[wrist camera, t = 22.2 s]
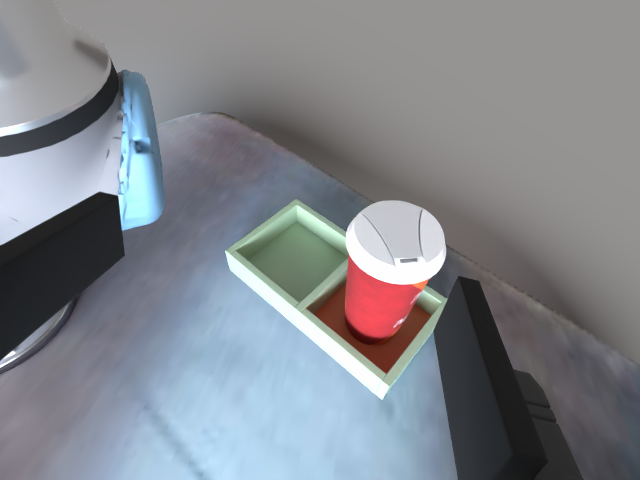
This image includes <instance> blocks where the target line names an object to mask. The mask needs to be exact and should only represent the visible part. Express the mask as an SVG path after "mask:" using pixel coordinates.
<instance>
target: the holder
mask: <svg viewBox="0 0 640 480" xmlns="http://www.w3.org/2000/svg"><path fill="white" fill-rule="evenodd" d="M225 252H226V256H227V260H228V264H229V268H230V270H231V271H232V272H233V273H234V274H236V275H237V276H238V277H239V278H240V279H241V280H243V281H244V282H245V283H246V284H247V285H248V286H250V287H251V288H252V289H253V290H254V291H255V292H257V293H258V294H259V295H260V296H261V297H262V298H264V299H265V300H266V301H267V302H268V303H269V304H271V305H272V306H273V307H274V308H275V309H276V310H278V311H279V312H280V313H281V314H282V315H283V316H285V317H286V318H287V319H288V320H289V321H290V322H292V323H293V324H294V325H295V326H296V327H297V328H299V329H300V330H301V331H302V332H303V333H304V334H306V335H307V336H308V337H309V338H310V339H311V340H313V341H314V342H315V343H316V344H317V345H318V346H320V347H321V348H322V349H323V350H324V351H325V352H327V353H328V354H329V355H330V356H331V357H332V358H334V359H335V360H336V361H337V362H338V363H339V364H341V365H342V366H343V367H344V368H345V369H346V370H348V371H349V372H350V373H351V374H352V375H353V376H355V377H356V378H357V379H358V380H359V381H360V382H362V383H363V384H364V385H365V386H366V387H367V388H369V389H370V390H371V391H372V392H373V393H374V394H376V395H377V396H378V397H379V398H380V399H381V400H383V398H384V397H385V396H386V394H387V393H388V392H389V390H390V389H391V388H392V386H393V385H394V384H395V382H396V381H397V380H398V378H399V377H400V375H401V374H402V373H403V371H404V370H405V369H406V367H407V366H408V365H409V363H410V362H411V361H412V359H413V358H414V357H415V355H416V354H417V353H418V351H419V350H420V349H421V347H422V346H423V345H424V343H425V342H426V341H427V339H428V338H429V336H430V335H431V334H432V332H433V330H434V328H435V326H436V324H437V321H438V319H439V317H440V315H441V313H442V310H443V308H444V306H445V304H446V302H447V300H448V299H447V298H445V297H443V296H442V295H440V294H439V293H437V292H436V291H434V290H433V289H431V288H430V287H428V286H427V285H425V287H424V289H423V290H422V292H421V294H420V296H419V297H418V299H417V301H416V302H415V304H414V306H413V307H412V309H411V311H410V312H409V314H408V316H407V317H406V319H405V321H404V322H403V324H402V325H401V327H400V329H399V330H398V332H397V333H396V334H395V336H394V337H393V338H392V339H391V340H390V341H388V342H386V343H384V344H381V345H367V344H364V343H362V342H360V341H358V340H356V339H355V338H354V337H353V336H352V335H351V334H350V333H349V331H348V329H347V327H346V324H345V296H346V281H347V267H348V253H349V252H348V250H347V247H346V231H344V230H343V229H341V228H340V227H338V226H337V225H335V224H334V223H332V222H331V221H329V220H328V219H326V218H325V217H323V216H322V215H320V214H319V213H317V212H316V211H314V210H313V209H311V208H310V207H308V206H307V205H305V204H304V203H302V202H301V201H299V200H298V199H295V200H294V201H292V202H291V203H290V204H288V205H287V206H286V207H284V208H283V209H281V210H280V211H279V212H277V213H276V214H275V215H273V216H272V217H270V218H269V219H268V220H266V221H265V222H264V223H262V224H261V225H259V226H258V227H257V228H255V229H254V230H253V231H251V232H250V233H248V234H247V235H246V236H244V237H243V238H242V239H240V240H239V241H238V242H236V243H235V244H233V245H232V246H231V247H229V248H228V249H227V250H225Z"/></svg>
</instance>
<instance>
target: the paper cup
mask: <svg viewBox="0 0 640 480" xmlns="http://www.w3.org/2000/svg"><path fill="white" fill-rule="evenodd" d="M422 209H423V208H421V207H419V206H416V205H414V204H411V203H408V202H404V201H398V200H387V201H380V202H376V203H373V204H371V205H369V206H368V207H366V208H365V209H363V210H362V211H361V212H360V213H358V215H357V216H356V217H355V218H354V219H353V220H352V222H351V223H350V225H349V226H348V229H347V232H346V247H347V250H348V252H349V253H348V267H347V281H346V296H345V324H346V327H347V329H348V331H349V333H350V334H351V335H352V336H353V337H354V338H355V339H356V340H358V341H360V342H362V343H364V344H367V345H381V344H384V343H386V342H388V341H390V340H391V339H392V338H393V337H394V336H395V334H396V333H397V332H398V330H399V329H400V327H401V325H402V324H403V322H404V321H405V319H406V317H407V316H408V314H409V312H410V311H411V309H412V307H413V306H414V304H415V302H416V301H417V299H418V297H419V296H420V294H421V292H422V290H423V289H424V287H425V285H426V284H427V282H428V280H429V279H430V278H431V277H432V276H433V275H435V274H436V273H437V272H438V271H439V270H440V268H441V267H442V265H443V263H444V261H445V257H446V245H445V239H444V233H443V230H442V228H441V226H440V224H439V222H438V221H437V220H436V218H435V217H434V216H433V215H431V214H430V213H429V212H428V211H426V210H425V209H423V210H422Z"/></svg>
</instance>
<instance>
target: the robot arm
mask: <svg viewBox="0 0 640 480" xmlns="http://www.w3.org/2000/svg"><path fill="white" fill-rule="evenodd" d="M164 207H165V191H164V180H163V171H162V163H161V155H160V148H159V141H158V135H157V129H156V123H155V117H154V112H153V106H152V101H151V97H150V93H149V89H148V86H147V84H146V80H145V78H144V77H143V75H142V74H140V73H137V72H130V71H128V70H122V71H121V72H119V73H117V72H116V70H115V68H114V65H113V63H112V61H111V58H110V56H109V54H108V51H107V50H106V48H105V46H104V44H103V43H102V42H101V41H100V40H99V39H98V38H97V37H96V36H94V35H93V34H91V33H90V32H88V31H85V30H83V29H82V28H80V27H78V26H76V25H73V24H72V23H70V22H68V21H66V20H65V19H64V17H63V15H62V13H61V11H60V9H59V6H58V4H57V2H56V0H0V374H2V373H4V372H6V371H8V370H10V369H12V368H14V367H15V366H17V365H19V364H21V363H22V362H24V361H25V360H27V359H29V358H30V357H31V356H33V355H34V354H35V353H37V352H38V351H39V350H40V349H42V348H43V347H44V346H45V345H46V344H47V343H48V342H49V341H50V340H51V339H52V338H53V337H54V336H55V335H56V334H57V333H58V332H59V330H60V329H61V328H62V327H63V325H64V324H65V322H66V321H67V319H68V318H69V316H70V314H71V312H72V310H73V308H74V305H75V303H76V299H77V295H79V294H80V293H81V292H82V291H83V290H85V289H86V288H87V287H88V286H89V285H90V284H92V283H93V282H94V281H95V280H96V279H98V278H99V277H100V276H101V275H102V274H103V273H105V272H106V271H107V270H108V269H109V268H111V267H112V266H113V265H114V264H115V263H116V262H118V261H119V260H120V259H121V258H122V257H124V256H125V255H124V245H123V235H122V230H126V229H130V228H134V227H138V226H143V225H147V224H150V223H152V222H154V221H155V220H157V219H158V218H159V217H160V216H161V214H162V212H163V210H164ZM433 332H434V338H435V344H436V350H437V356H438V362H439V368H440V374H441V380H442V386H443V392H444V398H445V404H446V410H447V416H448V422H449V428H450V434H451V440H452V446H453V452H454V458H455V464H456V470H457V476H458V480H583V478H582V476H581V474H580V472H579V469H578V467H577V465H576V463H575V460H574V458H573V456H572V454H571V452H570V449H569V447H568V445H567V443H566V440H565V438H564V436H563V434H562V431H561V429H560V427H559V425H558V424H556V421H557V420H556V418H555V416H554V414H553V411H552V410H550V405H549V402H548V400H547V398H546V396H545V394H544V391H543V389H542V388H541V387H540V386H539V385H538V383H537V382H536V381H535V380H534V379H533V377H532V376H531V375H530V374H529V373H525V372H521V371H517V370H513V368H512V365H511V363H510V360H509V358H508V355H507V352H506V350H505V347H504V345H503V342H502V339H501V337H500V334H499V332H498V329H497V326H496V324H495V321H494V319H493V316H492V314H491V311H490V308H489V306H488V303H487V301H486V298H485V295H484V293H483V290H482V288H481V285H480V282H479V281H477V280H473V279H469V278H464V277H460V276H458V278H457V280H456V282H455V284H454V286H453V289H452V291H451V293H450V295H449V297H448V300H447V302H446V304H445V306H444V308H443V310H442V313H441V315H440V317H439V319H438V321H437V324H436V326H435V328H434V330H433Z"/></svg>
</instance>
